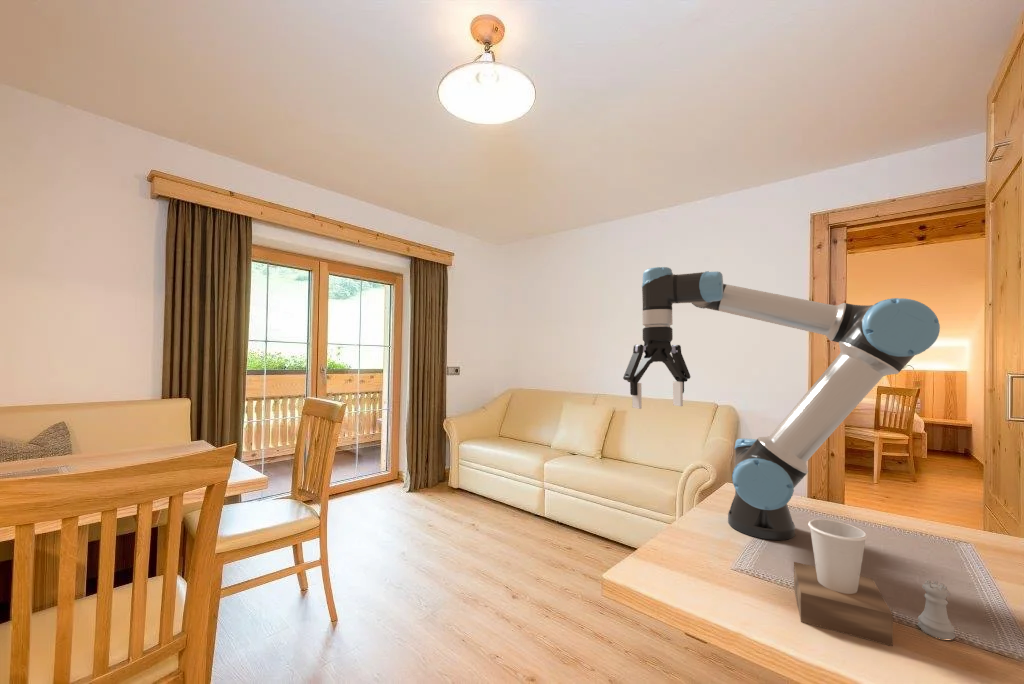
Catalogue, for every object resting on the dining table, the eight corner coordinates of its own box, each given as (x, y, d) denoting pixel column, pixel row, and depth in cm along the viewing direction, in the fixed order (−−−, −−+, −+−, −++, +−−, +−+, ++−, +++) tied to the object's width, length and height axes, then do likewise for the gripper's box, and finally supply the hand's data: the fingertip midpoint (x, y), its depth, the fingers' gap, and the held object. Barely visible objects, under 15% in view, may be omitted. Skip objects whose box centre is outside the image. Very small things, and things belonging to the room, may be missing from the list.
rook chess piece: (963, 643, 67) (963, 593, 67) (930, 639, 68) (930, 589, 68) (941, 625, 71) (940, 578, 72) (910, 622, 72) (910, 575, 73)
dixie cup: (802, 582, 75) (801, 526, 76) (815, 567, 81) (815, 515, 81) (861, 604, 69) (861, 543, 69) (872, 586, 74) (872, 529, 74)
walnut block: (793, 587, 83) (793, 561, 83) (872, 606, 77) (872, 578, 77) (800, 621, 72) (800, 592, 72) (892, 646, 66) (892, 614, 66)
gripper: (683, 328, 120) (683, 403, 119) (609, 326, 111) (609, 407, 110) (704, 327, 113) (704, 406, 112) (627, 324, 104) (627, 411, 103)
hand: (657, 407), depth 111 cm, fingers open, 13 cm apart
